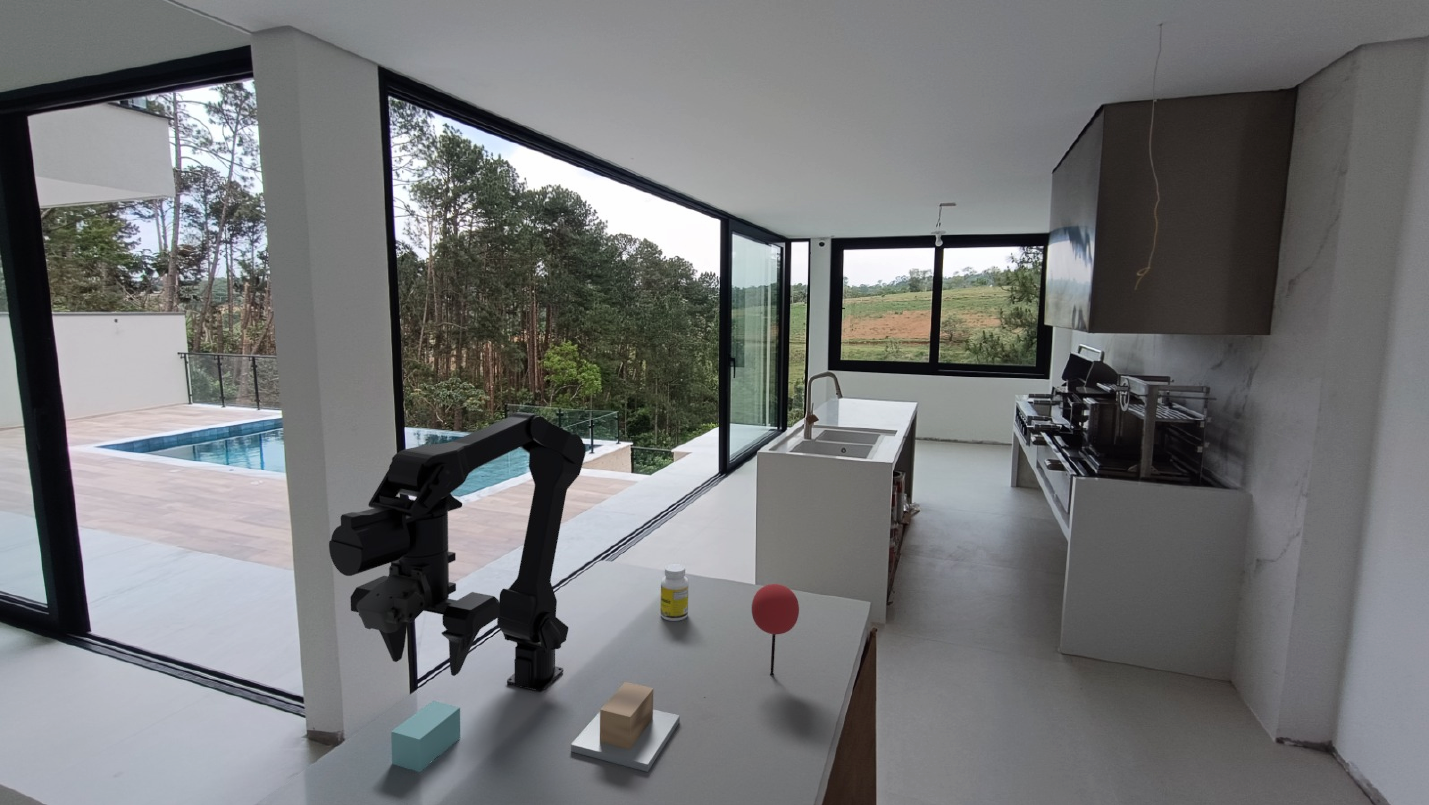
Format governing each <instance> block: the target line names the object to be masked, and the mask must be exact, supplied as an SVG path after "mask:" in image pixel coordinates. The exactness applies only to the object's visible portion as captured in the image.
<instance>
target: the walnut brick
mask: <svg viewBox="0 0 1429 805" xmlns="http://www.w3.org/2000/svg"><path fill="white" fill-rule="evenodd" d="M653 709H654V687H649V686H645V685H640V684H636V683H631V682H628V681H624V683H623V684H622V685H621V686H620V687H619V688H618V689H617V691H616V692H615V693H613V695H612V696H611V697H610V698H609V699H608V700H607V701H606V702H605V703H604V704H603V706H601V708H599V712H600V742H603V743H607V744H611V745H615V746H618V747H622V748H626V749H629V750H630V748H631V747H632V746H633V744H634V743H635V742H636V740H637V739H638V738H639V736H640V735H641V734H642V732H643V731H644V730H645V728H646V727H647V726H648V724H649V723H650V722H651V720H652V719H653Z"/></svg>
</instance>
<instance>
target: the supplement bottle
mask: <svg viewBox="0 0 1429 805" xmlns="http://www.w3.org/2000/svg"><path fill="white" fill-rule="evenodd" d="M659 611H660V616H661V617H662V619H664V620H665V621H670V622H679V621H683V620H684V619H686V618H687V617H688V614H689V579H688V578H687V577H686V567H685V566H684V565H682V564H678V563H677V564H676V563H673V564H668V565H666V566H665V567H664V577H662V579H661V583H660V610H659Z"/></svg>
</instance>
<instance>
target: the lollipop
mask: <svg viewBox="0 0 1429 805" xmlns="http://www.w3.org/2000/svg"><path fill="white" fill-rule="evenodd" d="M799 614H800V605H799V601H798V598H797V596H796V594H795V593H794V592H793V590H791V589H790V588H789V587H787V586H785V585H783V584H778V583H771V584H766V585H763V586H762V587H760V589H758V590H757V591H756V592H755V594H754V596H753V599H752V602H751V615H752V619H753V622H754V623H755V625H756V627H757V628H758V629H760V630H761V631H763V632H765V633H767V634H769V635H770V634H771V636H772V637H771V638H772V639H771V653H770V654H771V656H770V659H771V660H770V673H769V675H770V676H774V675H775V674H774V668H775V652H776V650H775V649H776V636H777V635H783V634H786V633H788V632H789V631H791V630H792V629H793V628H794V627H795V625H796V623H797V621H798V619H799V616H800V615H799Z"/></svg>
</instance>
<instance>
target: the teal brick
mask: <svg viewBox="0 0 1429 805" xmlns="http://www.w3.org/2000/svg"><path fill="white" fill-rule="evenodd" d="M390 738H391V764H392V765H394V766H399V767H401V768H405V769H408V770H411V769H412V770H411V771H414V770H415V772H417V773H421V772H422V771H424V770H425V769H426V768H427V767H428V766H429V765H430V764H429V763H430V762H431V761H433V762H434V761H435V760H436V759H437V758H436V757H437V756H439V755H440V754H441V753H442V754H443V753H445V752H446V751H447V750H448V749H449V748H450V747H452V746H453V745H454V744H455V743H456V742H457V741H459V740H460V739H461V707H460V706H455V705H452V704H448V703H444V702H440V701H437V700H432V701H431V702H430V703H428V704H427V705H426V706H423V708H421V709H419V711H417V712H415V714H413V715H411V716H410V717H409V718H408V719H406V720H405V721H403V722H402V723H401V724H400V725H398V726H397V727H395V728H394V729H393V730H391V737H390ZM459 738H460V739H459ZM454 742H455V743H454ZM453 743H454V744H453ZM452 744H453V745H452ZM449 746H450V747H449ZM448 747H449V748H448ZM447 748H448V749H447ZM446 749H447V750H446ZM445 750H446V751H445ZM444 751H445V752H444ZM442 754H441V755H442ZM441 755H440V756H441ZM440 756H439V757H440ZM435 758H436V759H435ZM434 759H435V760H434ZM428 764H429V765H428ZM427 765H428V766H427ZM423 769H424V770H423Z"/></svg>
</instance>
